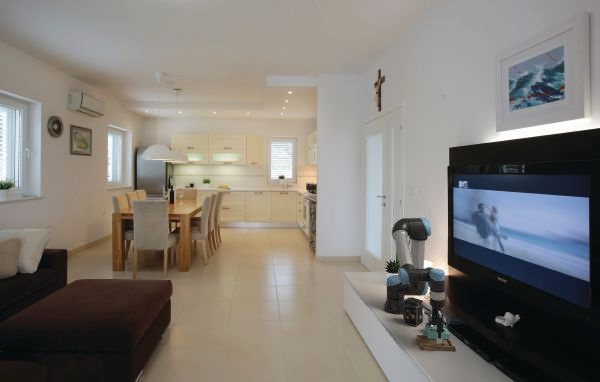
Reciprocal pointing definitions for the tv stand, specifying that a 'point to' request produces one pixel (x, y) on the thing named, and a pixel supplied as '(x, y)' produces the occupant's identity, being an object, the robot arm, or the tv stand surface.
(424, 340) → the tray
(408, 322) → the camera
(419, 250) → the robot arm
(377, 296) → the tv stand surface
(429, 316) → the mallet
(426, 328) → the teal rectangular frame
